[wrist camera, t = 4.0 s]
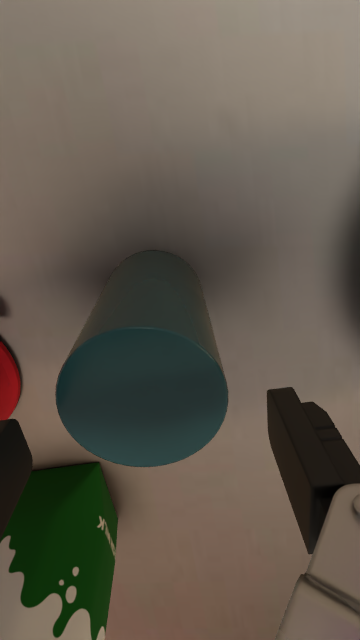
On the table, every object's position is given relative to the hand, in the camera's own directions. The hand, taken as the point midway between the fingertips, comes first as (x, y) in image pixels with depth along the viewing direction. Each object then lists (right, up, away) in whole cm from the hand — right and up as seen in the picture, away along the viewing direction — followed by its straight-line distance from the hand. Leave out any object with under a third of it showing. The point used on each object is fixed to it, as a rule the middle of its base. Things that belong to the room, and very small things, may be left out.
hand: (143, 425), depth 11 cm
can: (0, +5, +11) cm, 12 cm away
